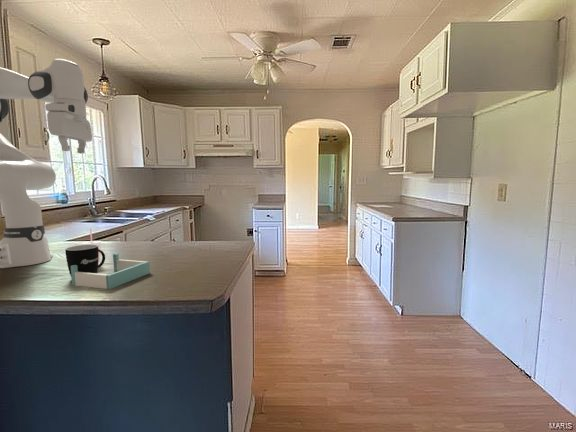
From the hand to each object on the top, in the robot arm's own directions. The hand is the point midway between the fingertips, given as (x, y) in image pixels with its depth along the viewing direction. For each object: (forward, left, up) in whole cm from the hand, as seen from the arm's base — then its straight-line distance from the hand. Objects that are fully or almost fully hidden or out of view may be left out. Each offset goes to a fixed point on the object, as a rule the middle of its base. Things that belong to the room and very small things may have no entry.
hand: (73, 152), depth 111 cm
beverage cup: (-1, +5, -41) cm, 42 cm away
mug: (+9, -6, -41) cm, 43 cm away
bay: (+19, -6, -41) cm, 46 cm away
